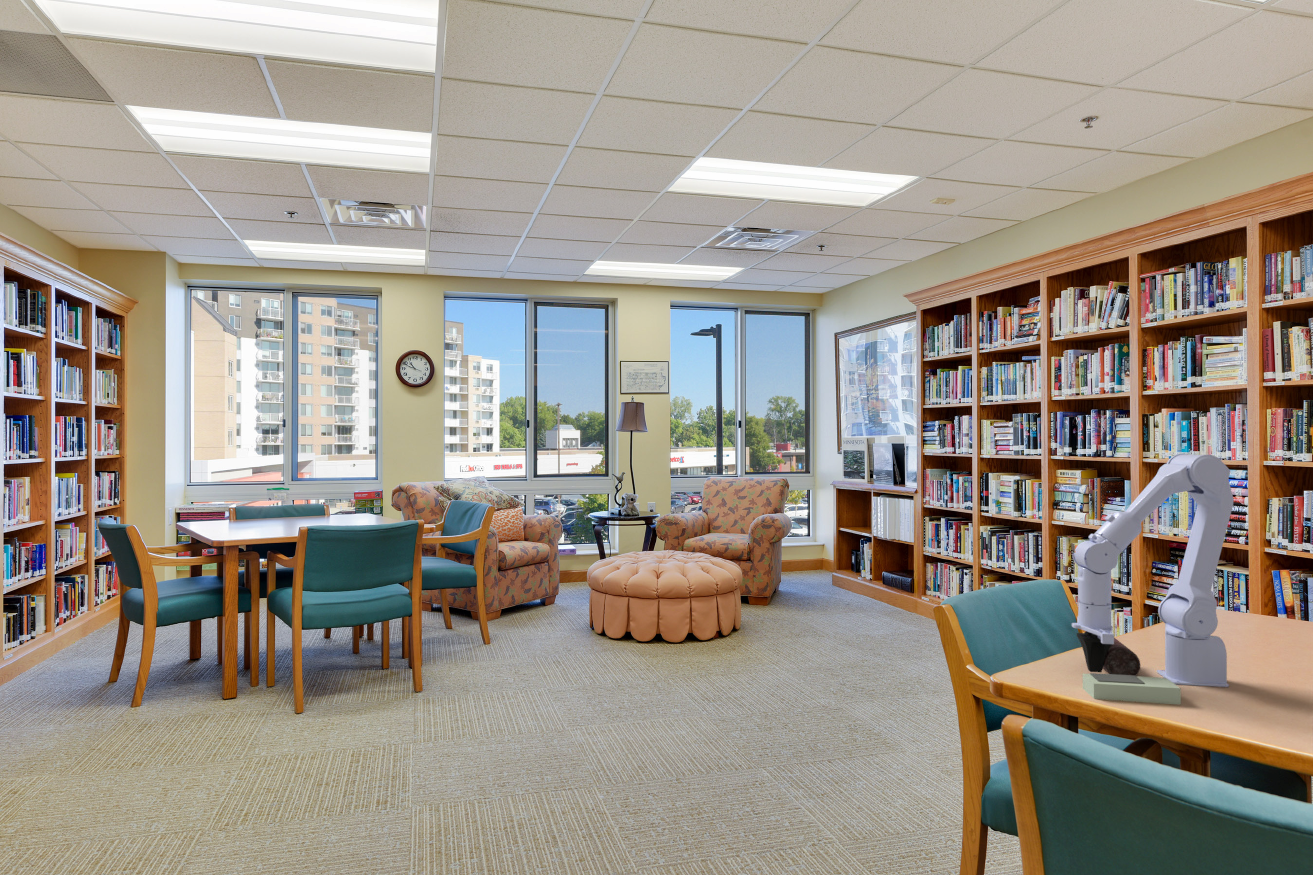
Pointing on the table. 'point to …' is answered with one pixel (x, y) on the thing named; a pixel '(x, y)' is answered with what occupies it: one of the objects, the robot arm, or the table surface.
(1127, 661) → the can
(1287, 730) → the table surface
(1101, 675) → the pale green slab
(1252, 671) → the table surface
